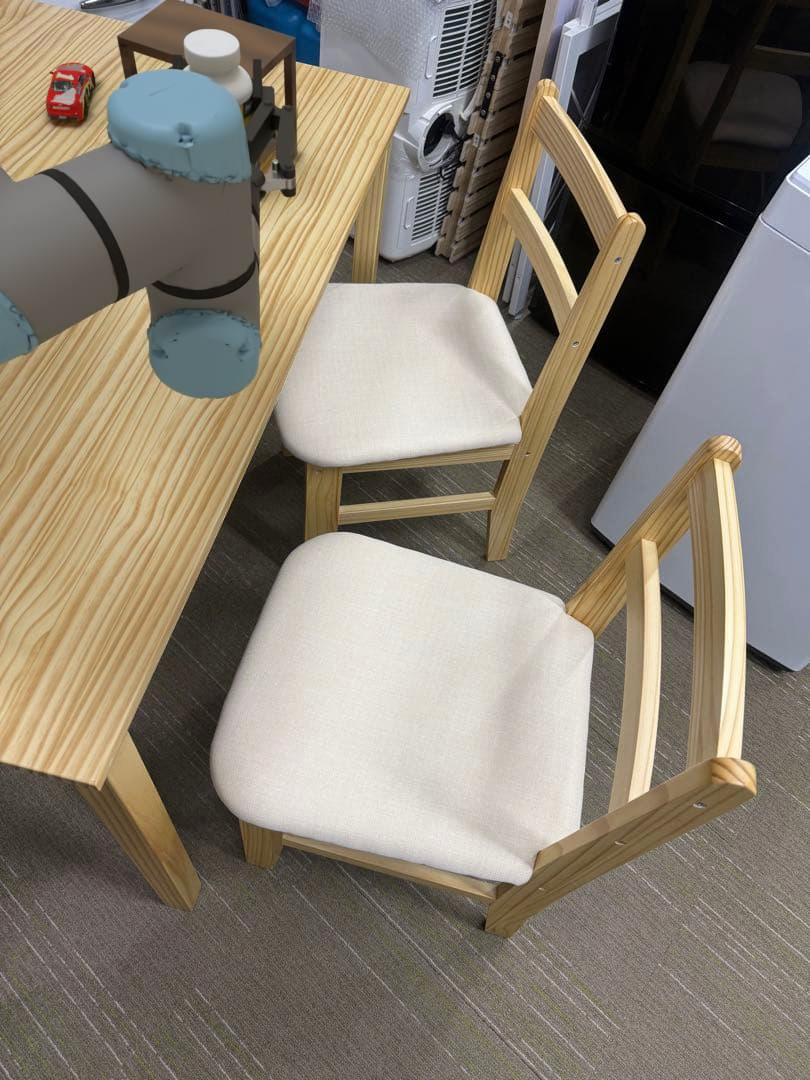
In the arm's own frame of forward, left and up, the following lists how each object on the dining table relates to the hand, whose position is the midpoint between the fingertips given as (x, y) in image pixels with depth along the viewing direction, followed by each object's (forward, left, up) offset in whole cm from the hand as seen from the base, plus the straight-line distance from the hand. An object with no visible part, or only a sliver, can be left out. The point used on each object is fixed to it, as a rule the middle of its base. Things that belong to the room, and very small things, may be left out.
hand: (219, 72), depth 73 cm
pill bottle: (+2, -4, -7) cm, 8 cm away
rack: (-16, +23, -26) cm, 38 cm away
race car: (-40, +24, -26) cm, 54 cm away
